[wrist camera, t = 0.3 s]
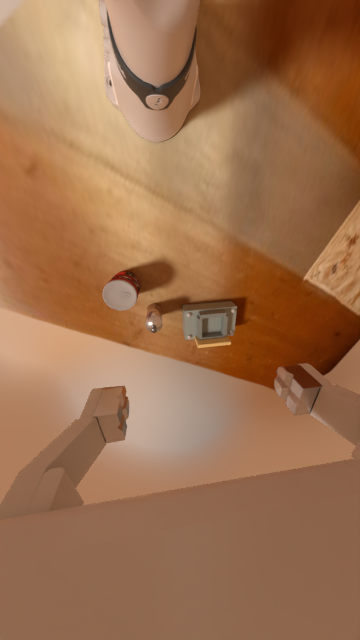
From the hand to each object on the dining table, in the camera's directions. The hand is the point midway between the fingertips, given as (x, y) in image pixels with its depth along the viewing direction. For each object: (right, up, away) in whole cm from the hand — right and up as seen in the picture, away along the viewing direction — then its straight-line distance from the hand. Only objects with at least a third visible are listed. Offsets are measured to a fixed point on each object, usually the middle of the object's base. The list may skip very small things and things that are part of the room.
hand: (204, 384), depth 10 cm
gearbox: (+8, +5, +51) cm, 52 cm away
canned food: (-17, +14, +43) cm, 48 cm away
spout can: (-9, +7, +48) cm, 49 cm away
